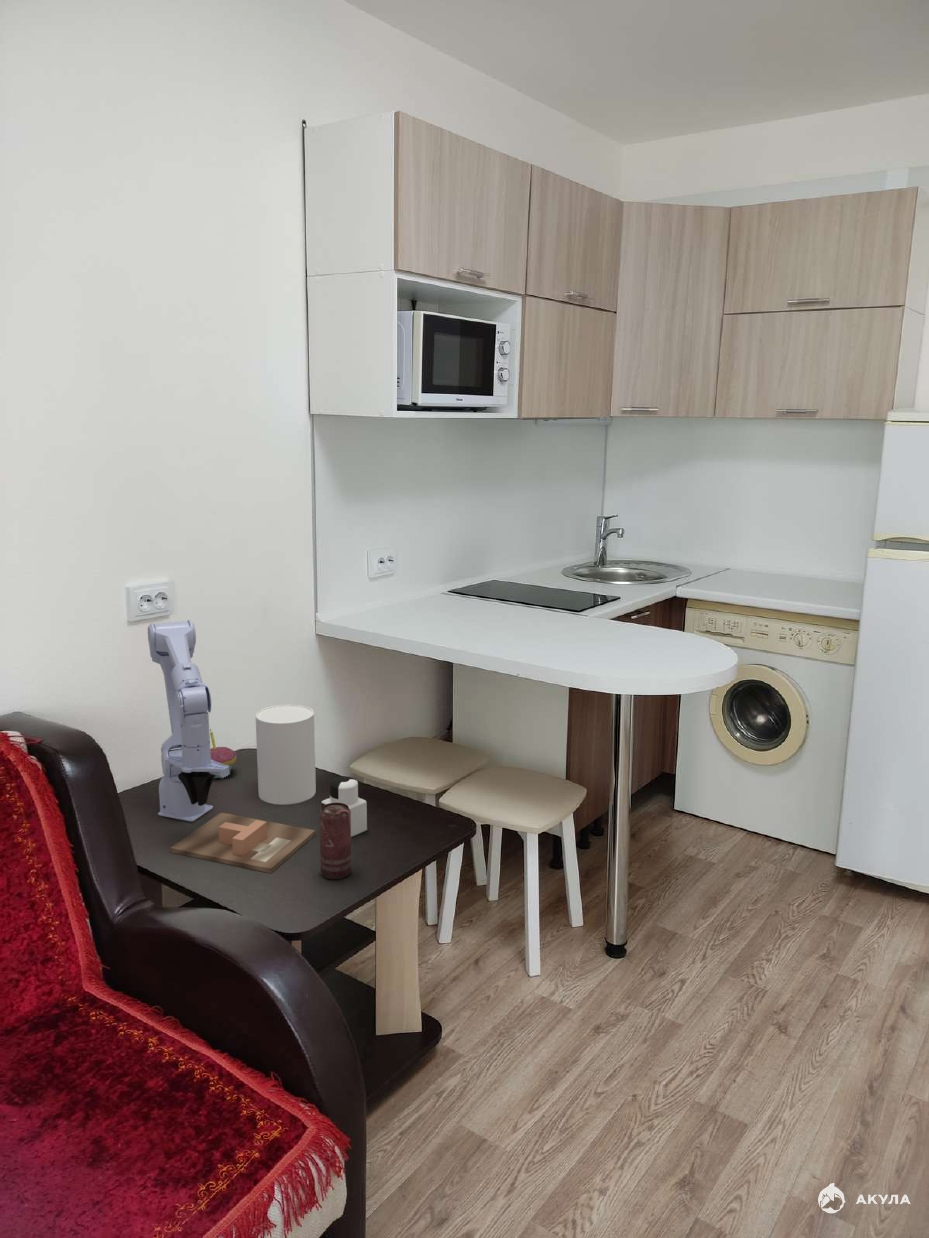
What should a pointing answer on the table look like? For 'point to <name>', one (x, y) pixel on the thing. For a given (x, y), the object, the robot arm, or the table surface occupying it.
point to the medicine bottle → (349, 802)
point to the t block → (243, 836)
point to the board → (260, 858)
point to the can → (335, 840)
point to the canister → (285, 754)
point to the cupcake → (222, 754)
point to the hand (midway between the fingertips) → (199, 803)
